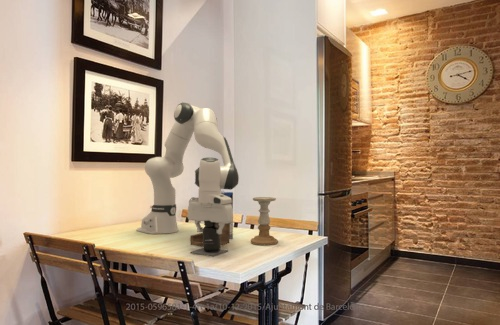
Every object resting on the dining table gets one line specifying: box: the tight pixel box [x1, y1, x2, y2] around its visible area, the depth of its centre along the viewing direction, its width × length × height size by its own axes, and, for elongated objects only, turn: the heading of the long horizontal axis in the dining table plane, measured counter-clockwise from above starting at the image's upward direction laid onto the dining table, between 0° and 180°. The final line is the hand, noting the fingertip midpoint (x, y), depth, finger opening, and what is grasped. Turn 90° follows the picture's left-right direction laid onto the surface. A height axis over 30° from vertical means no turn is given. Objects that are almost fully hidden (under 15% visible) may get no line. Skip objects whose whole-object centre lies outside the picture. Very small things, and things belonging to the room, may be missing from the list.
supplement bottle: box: [201, 221, 222, 252], centre depth 144 cm, size 7×7×12 cm
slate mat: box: [190, 247, 228, 257], centre depth 144 cm, size 11×10×1 cm
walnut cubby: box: [189, 223, 231, 248], centre depth 160 cm, size 12×12×12 cm
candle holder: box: [250, 196, 279, 246], centre depth 164 cm, size 12×12×20 cm
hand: (209, 232), depth 144 cm, fingers open, 8 cm apart
